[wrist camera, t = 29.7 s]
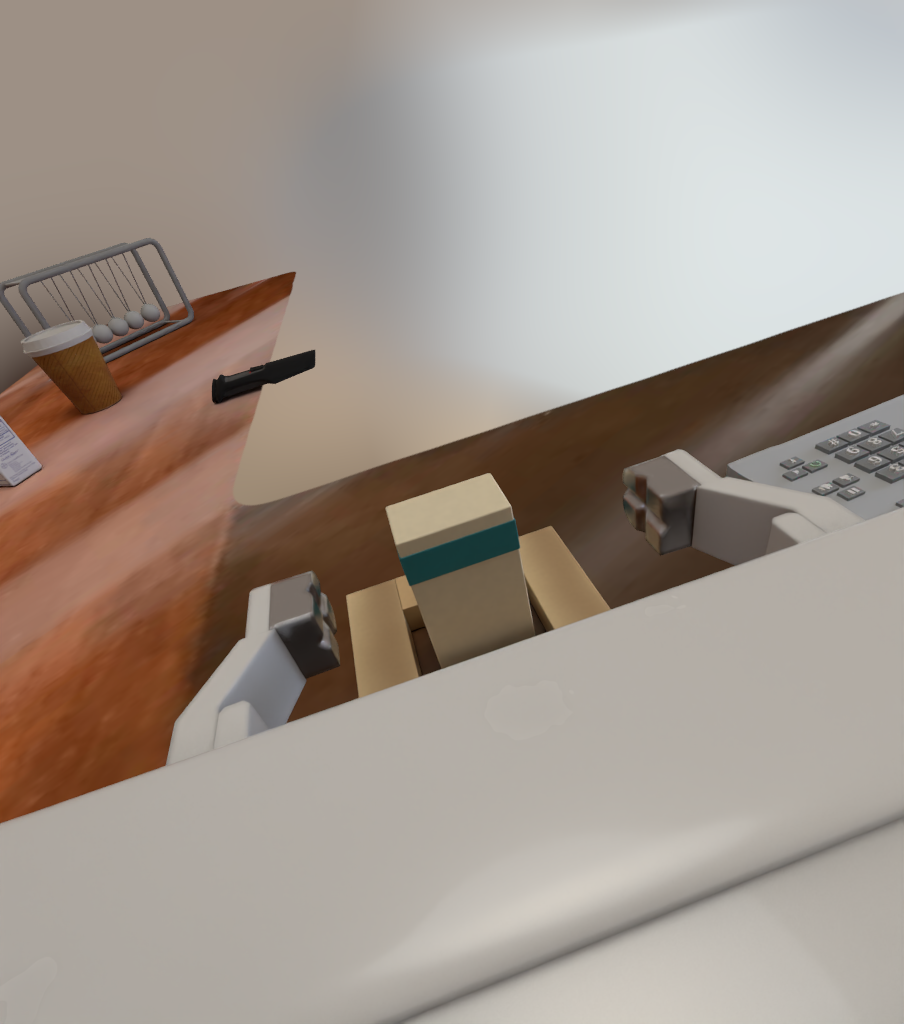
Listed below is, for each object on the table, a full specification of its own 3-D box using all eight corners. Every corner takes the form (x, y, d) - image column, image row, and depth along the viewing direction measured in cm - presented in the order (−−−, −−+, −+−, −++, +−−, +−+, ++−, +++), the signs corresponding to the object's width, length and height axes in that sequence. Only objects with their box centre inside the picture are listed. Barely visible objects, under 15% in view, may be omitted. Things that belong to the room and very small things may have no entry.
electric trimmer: (322, 374, 74) (314, 352, 72) (213, 406, 73) (202, 384, 71) (321, 366, 77) (314, 344, 75) (216, 396, 76) (206, 375, 74)
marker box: (444, 680, 29) (394, 545, 23) (431, 636, 32) (383, 506, 26) (539, 646, 30) (513, 506, 24) (518, 606, 32) (490, 471, 26)
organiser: (378, 773, 26) (365, 752, 25) (355, 615, 35) (345, 594, 33) (641, 676, 27) (641, 651, 26) (554, 547, 36) (551, 525, 35)
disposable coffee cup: (99, 394, 89) (52, 324, 82) (144, 388, 87) (100, 314, 80) (57, 422, 82) (1, 348, 75) (104, 416, 79) (52, 338, 72)
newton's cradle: (171, 320, 127) (129, 240, 116) (198, 319, 121) (156, 235, 111) (52, 376, 107) (-12, 286, 97) (77, 377, 102) (13, 282, 92)
